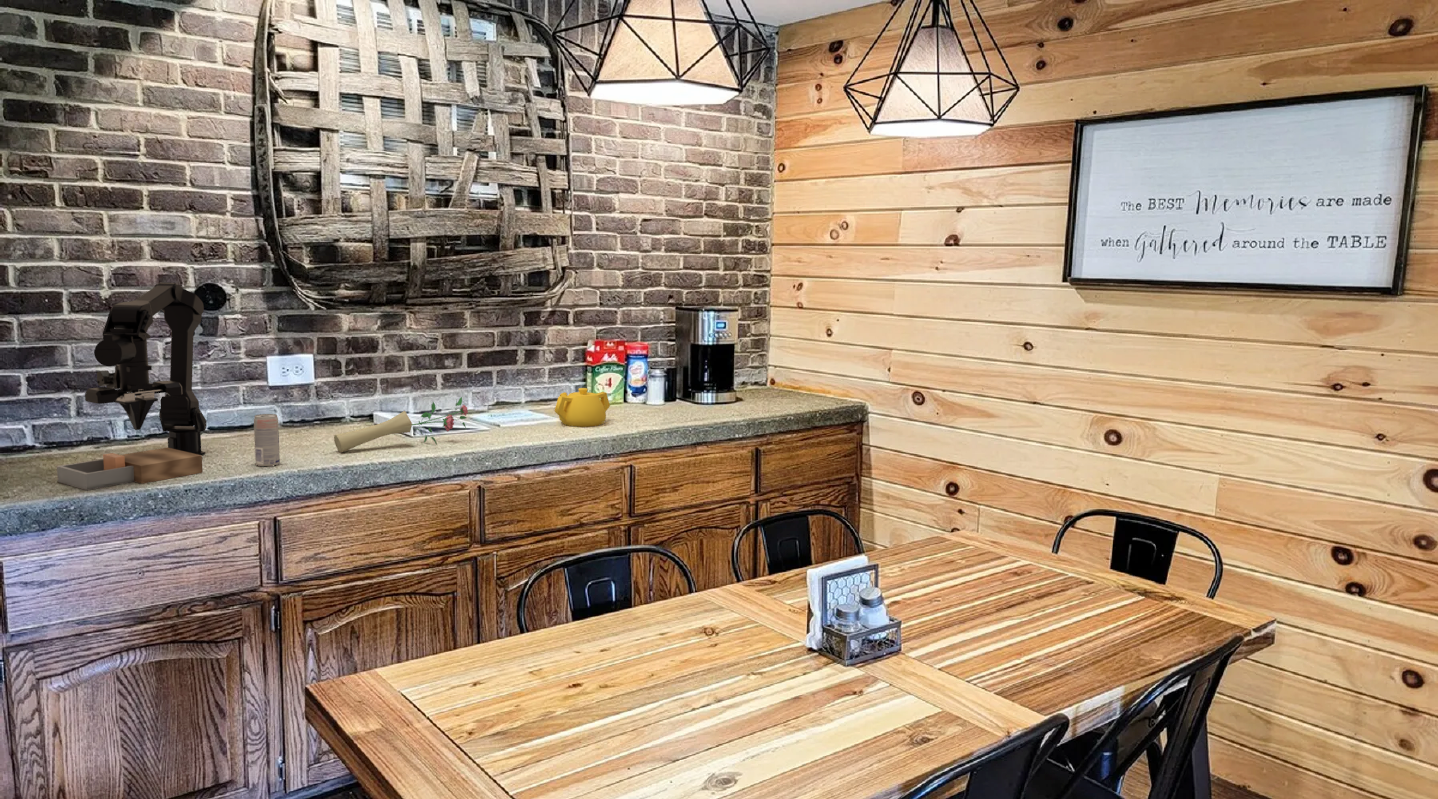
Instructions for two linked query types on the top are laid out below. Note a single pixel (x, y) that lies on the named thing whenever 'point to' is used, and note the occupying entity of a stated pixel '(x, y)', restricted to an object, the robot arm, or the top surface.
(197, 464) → the walnut board
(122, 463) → the terracotta tile
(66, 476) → the box
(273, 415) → the energy drink
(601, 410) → the teapot
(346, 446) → the flower vase
